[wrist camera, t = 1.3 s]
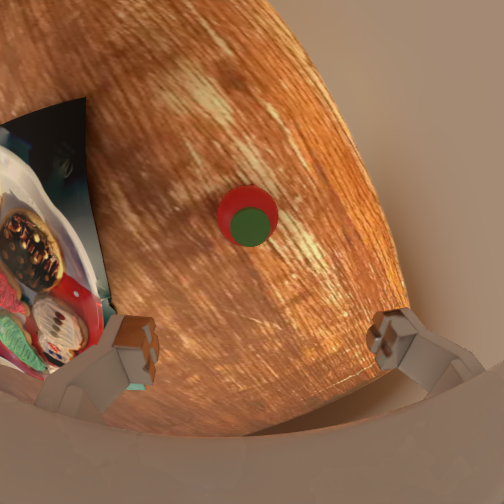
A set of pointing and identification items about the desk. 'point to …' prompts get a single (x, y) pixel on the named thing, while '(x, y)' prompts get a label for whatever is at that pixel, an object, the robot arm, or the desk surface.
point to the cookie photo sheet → (48, 244)
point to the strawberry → (247, 216)
